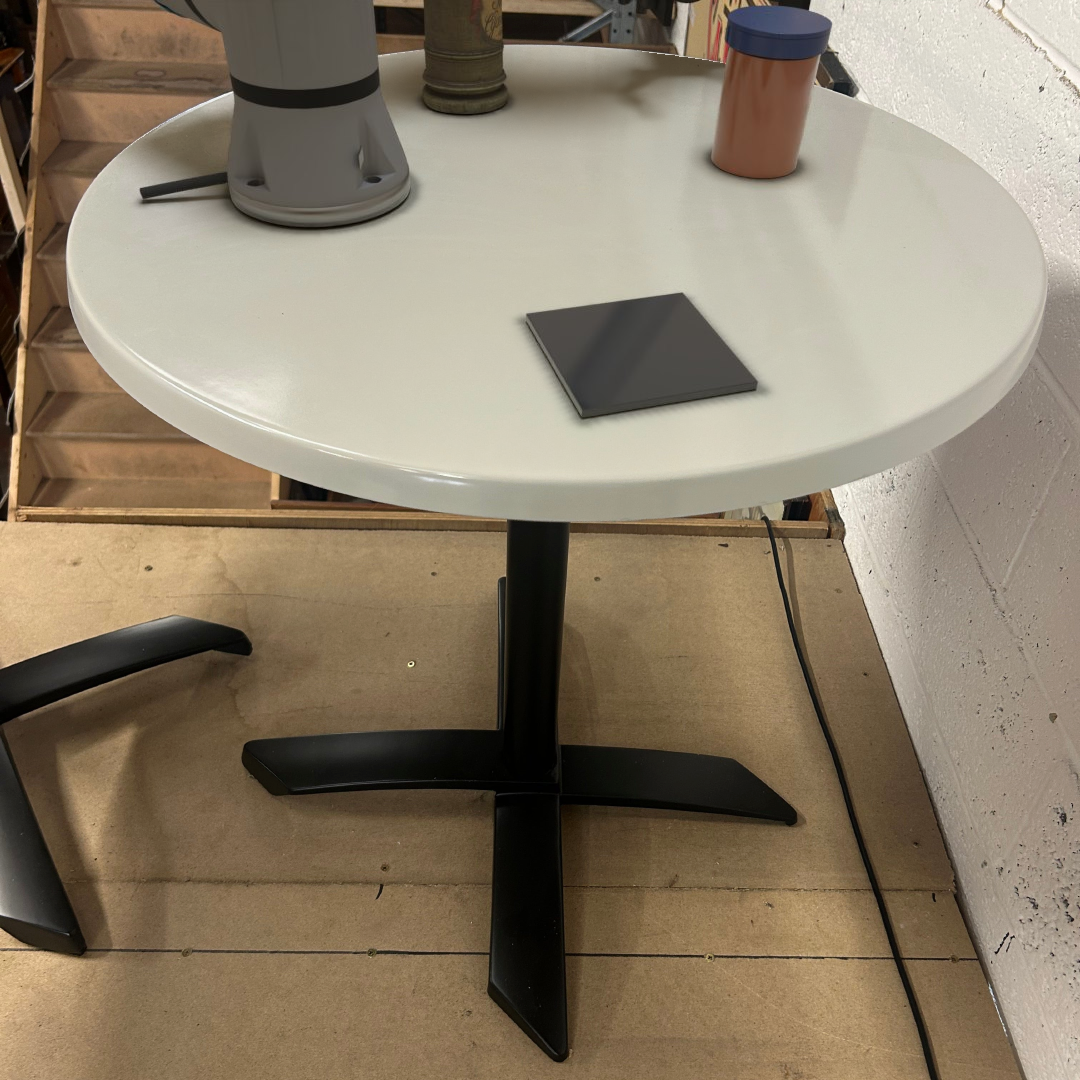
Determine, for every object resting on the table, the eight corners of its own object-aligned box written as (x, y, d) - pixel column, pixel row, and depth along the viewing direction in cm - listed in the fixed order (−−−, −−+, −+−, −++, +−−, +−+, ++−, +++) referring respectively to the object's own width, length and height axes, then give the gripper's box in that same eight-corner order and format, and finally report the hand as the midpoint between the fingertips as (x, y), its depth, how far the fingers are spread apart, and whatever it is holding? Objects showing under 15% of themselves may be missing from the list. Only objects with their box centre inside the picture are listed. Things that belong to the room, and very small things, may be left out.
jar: (723, 179, 83) (747, 39, 75) (701, 146, 89) (721, 12, 81) (808, 177, 84) (840, 38, 76) (780, 144, 90) (807, 12, 82)
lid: (740, 59, 76) (744, 34, 75) (712, 29, 82) (715, 5, 81) (841, 58, 77) (847, 33, 76) (806, 28, 83) (811, 5, 82)
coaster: (581, 418, 56) (582, 410, 56) (525, 320, 64) (525, 313, 64) (756, 389, 59) (758, 381, 59) (681, 299, 67) (682, 291, 67)
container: (420, 114, 93) (407, -98, 81) (425, 85, 100) (414, -116, 87) (508, 116, 93) (509, -96, 81) (507, 87, 100) (508, -114, 88)
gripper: (783, -6, 107) (851, 50, 92) (573, -4, 104) (607, 54, 89) (797, -82, 102) (871, -36, 87) (577, -82, 99) (613, -35, 84)
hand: (737, 10), depth 88 cm, fingers open, 13 cm apart
